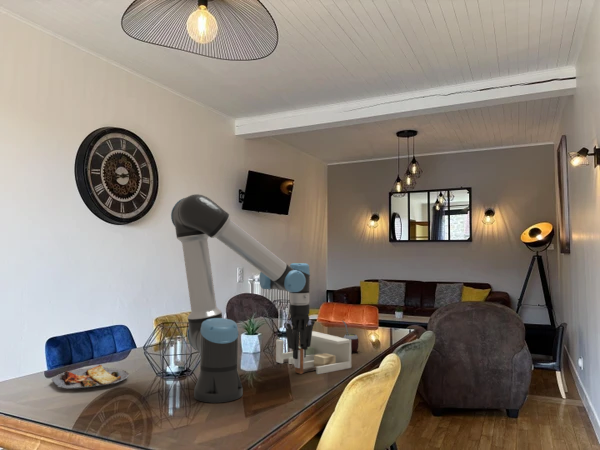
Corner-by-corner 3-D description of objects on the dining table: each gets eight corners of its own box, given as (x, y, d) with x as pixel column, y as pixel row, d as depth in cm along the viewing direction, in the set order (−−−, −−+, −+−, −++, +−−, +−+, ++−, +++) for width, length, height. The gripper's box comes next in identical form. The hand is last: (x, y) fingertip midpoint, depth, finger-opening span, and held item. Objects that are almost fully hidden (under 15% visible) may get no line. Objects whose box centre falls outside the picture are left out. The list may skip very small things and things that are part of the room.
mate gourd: (358, 351, 215) (358, 318, 216) (358, 354, 207) (358, 320, 208) (342, 350, 216) (342, 318, 217) (342, 354, 208) (342, 320, 209)
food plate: (45, 379, 163) (46, 369, 164) (112, 369, 178) (113, 360, 179) (63, 398, 144) (63, 387, 144) (137, 386, 159) (137, 375, 159)
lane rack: (317, 374, 173) (317, 344, 174) (276, 360, 196) (276, 333, 196) (351, 367, 183) (351, 339, 184) (308, 355, 206) (308, 330, 206)
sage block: (282, 364, 188) (282, 341, 188) (274, 362, 193) (274, 339, 193) (313, 359, 197) (313, 337, 198) (305, 356, 202) (305, 335, 203)
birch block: (302, 375, 172) (302, 349, 172) (293, 372, 176) (293, 347, 177) (335, 368, 181) (335, 344, 182) (325, 365, 186) (325, 342, 187)
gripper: (290, 306, 169) (289, 371, 167) (320, 303, 177) (320, 366, 176) (278, 304, 175) (278, 367, 173) (308, 301, 183) (308, 362, 182)
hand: (299, 366), depth 174 cm, fingers closed on birch block
